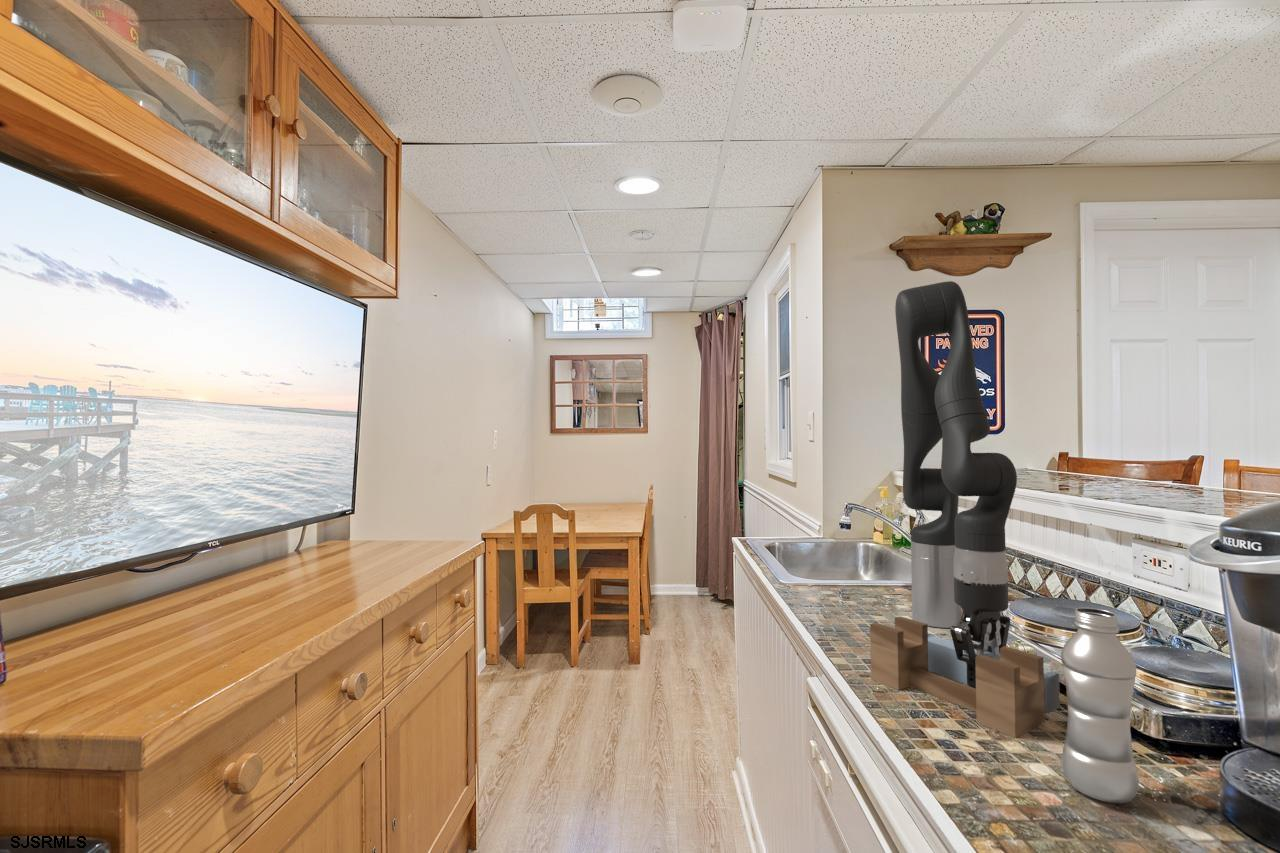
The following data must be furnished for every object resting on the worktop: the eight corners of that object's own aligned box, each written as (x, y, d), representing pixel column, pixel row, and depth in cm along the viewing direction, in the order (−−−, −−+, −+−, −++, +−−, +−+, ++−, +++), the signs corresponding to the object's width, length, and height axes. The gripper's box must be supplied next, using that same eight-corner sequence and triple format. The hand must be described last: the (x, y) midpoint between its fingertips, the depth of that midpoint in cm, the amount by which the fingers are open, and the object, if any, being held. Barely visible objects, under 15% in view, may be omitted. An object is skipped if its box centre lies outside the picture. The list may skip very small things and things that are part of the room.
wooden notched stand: (900, 669, 98) (900, 616, 98) (1044, 722, 79) (1043, 657, 80) (870, 679, 94) (870, 624, 94) (1015, 738, 75) (1013, 668, 75)
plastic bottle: (1067, 769, 68) (1063, 600, 68) (1143, 794, 63) (1138, 612, 64) (1056, 793, 63) (1052, 611, 64) (1137, 822, 59) (1131, 625, 59)
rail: (929, 662, 101) (929, 634, 101) (1059, 707, 84) (1058, 673, 84) (916, 667, 99) (916, 638, 99) (1046, 714, 82) (1046, 678, 82)
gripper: (980, 567, 99) (981, 667, 98) (932, 577, 91) (933, 686, 91) (1027, 575, 92) (1030, 683, 92) (980, 587, 85) (982, 704, 85)
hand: (982, 684), depth 91 cm, fingers closed on rail, 3 cm apart
